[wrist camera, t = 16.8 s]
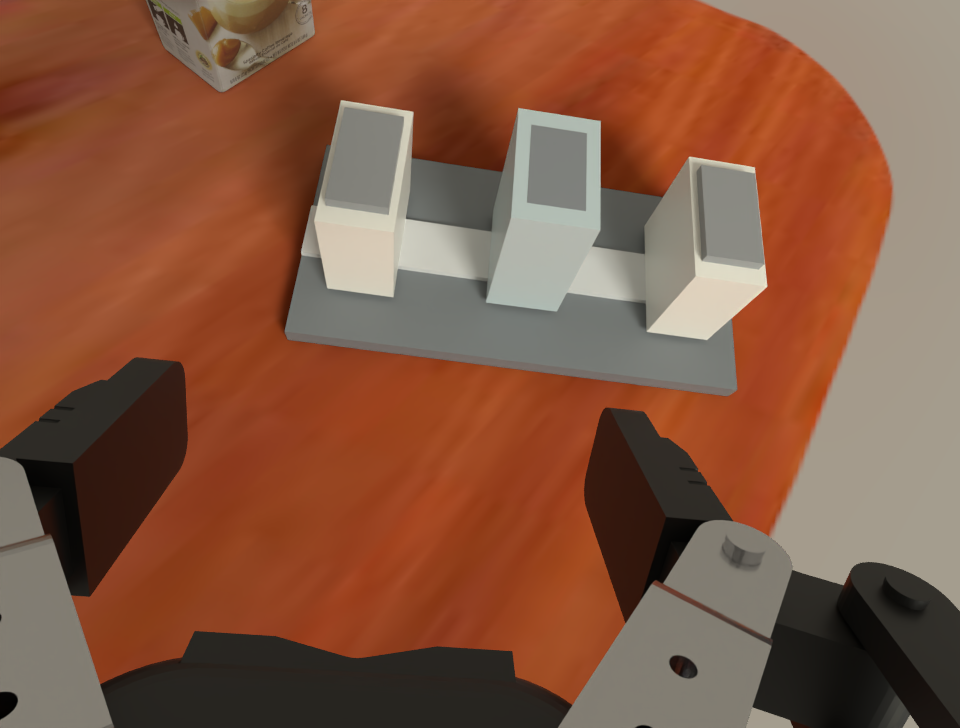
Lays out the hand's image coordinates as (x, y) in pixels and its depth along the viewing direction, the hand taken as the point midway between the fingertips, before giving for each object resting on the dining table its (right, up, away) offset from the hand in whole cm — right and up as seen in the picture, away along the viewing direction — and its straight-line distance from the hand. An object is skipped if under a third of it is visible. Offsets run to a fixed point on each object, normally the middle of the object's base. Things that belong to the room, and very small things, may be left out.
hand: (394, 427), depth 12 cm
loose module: (+4, +8, +28) cm, 30 cm away
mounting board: (+4, +7, +30) cm, 31 cm away
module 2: (+15, +7, +29) cm, 33 cm away
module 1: (-5, +9, +28) cm, 30 cm away
